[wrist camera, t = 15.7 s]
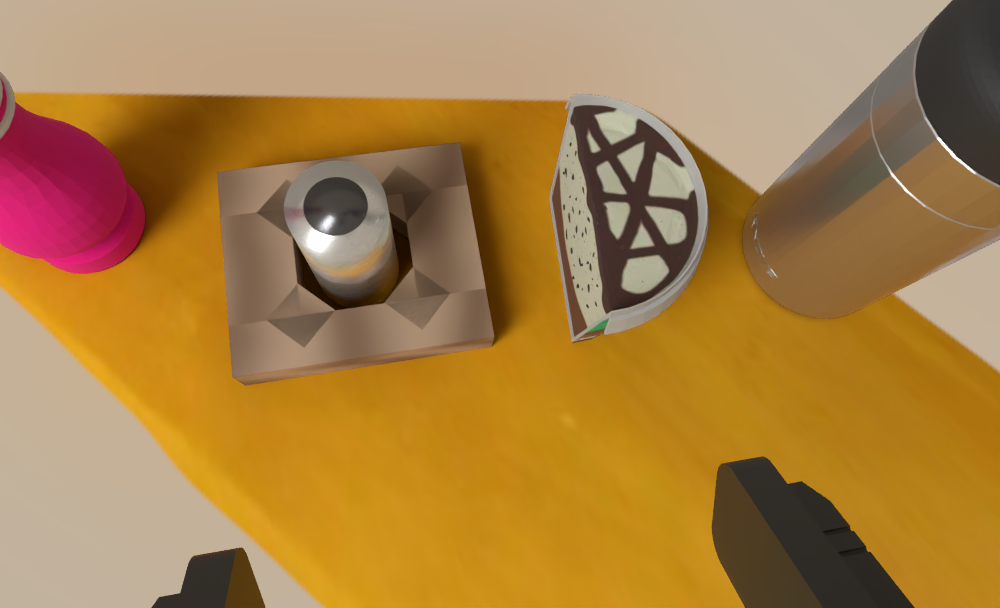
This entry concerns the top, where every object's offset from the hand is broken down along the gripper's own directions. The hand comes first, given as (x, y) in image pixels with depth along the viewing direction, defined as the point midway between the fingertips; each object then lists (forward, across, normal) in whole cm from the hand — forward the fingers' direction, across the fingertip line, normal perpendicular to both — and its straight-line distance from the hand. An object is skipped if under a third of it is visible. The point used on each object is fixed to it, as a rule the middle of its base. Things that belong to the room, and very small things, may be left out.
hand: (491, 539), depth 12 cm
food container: (+29, -11, +10) cm, 33 cm away
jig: (+30, +4, +9) cm, 32 cm away
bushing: (+30, +4, +9) cm, 32 cm away
